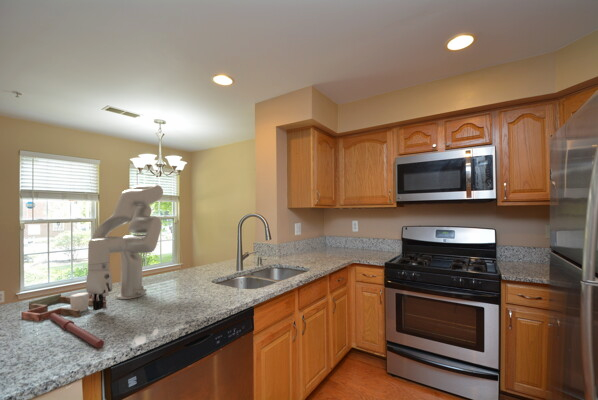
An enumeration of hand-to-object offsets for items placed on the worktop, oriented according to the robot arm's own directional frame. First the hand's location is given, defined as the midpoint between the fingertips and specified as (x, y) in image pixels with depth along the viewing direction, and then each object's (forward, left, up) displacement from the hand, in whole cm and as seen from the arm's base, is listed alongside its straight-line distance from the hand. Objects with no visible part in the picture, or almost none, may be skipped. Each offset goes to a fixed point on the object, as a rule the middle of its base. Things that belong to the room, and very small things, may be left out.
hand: (98, 309), depth 115 cm
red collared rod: (-11, +16, -2) cm, 20 cm away
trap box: (+19, 0, -1) cm, 19 cm away
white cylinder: (+11, 0, -2) cm, 12 cm away
